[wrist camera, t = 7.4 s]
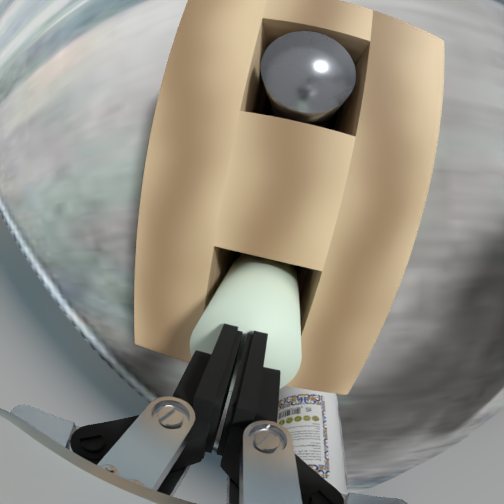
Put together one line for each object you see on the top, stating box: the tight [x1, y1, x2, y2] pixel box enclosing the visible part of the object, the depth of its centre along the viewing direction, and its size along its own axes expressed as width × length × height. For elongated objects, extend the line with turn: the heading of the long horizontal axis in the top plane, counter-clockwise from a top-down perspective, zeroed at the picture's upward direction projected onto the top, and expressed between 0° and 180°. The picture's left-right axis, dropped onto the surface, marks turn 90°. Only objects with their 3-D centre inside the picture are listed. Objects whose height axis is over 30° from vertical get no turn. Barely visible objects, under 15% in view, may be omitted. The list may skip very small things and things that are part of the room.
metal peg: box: [261, 31, 356, 127], centre depth 14 cm, size 4×4×8 cm
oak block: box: [134, 0, 444, 395], centre depth 16 cm, size 14×22×8 cm, turn 169°
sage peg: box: [190, 253, 302, 392], centre depth 14 cm, size 4×4×8 cm
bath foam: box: [277, 386, 348, 494], centre depth 16 cm, size 7×7×20 cm
